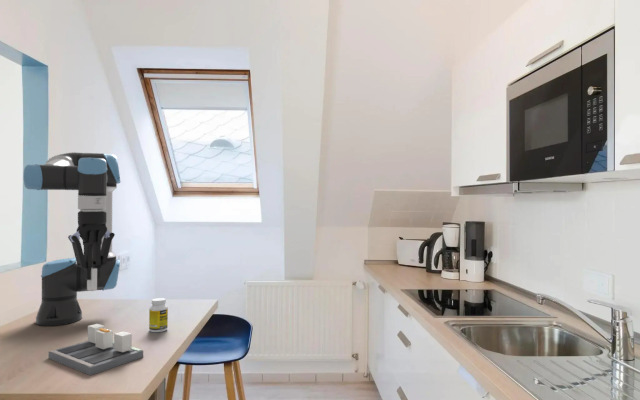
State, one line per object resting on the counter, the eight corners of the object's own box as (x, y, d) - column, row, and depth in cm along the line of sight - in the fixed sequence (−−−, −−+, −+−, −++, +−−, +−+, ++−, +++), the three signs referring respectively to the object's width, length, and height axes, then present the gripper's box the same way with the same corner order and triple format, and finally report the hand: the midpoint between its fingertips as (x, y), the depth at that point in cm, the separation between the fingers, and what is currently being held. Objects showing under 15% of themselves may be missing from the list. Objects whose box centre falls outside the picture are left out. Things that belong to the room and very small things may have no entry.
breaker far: (87, 341, 135) (87, 326, 135) (97, 338, 137) (97, 323, 137) (94, 343, 132) (94, 328, 132) (104, 340, 135) (104, 325, 135)
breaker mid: (95, 346, 129) (95, 329, 129) (105, 343, 132) (105, 327, 132) (103, 349, 127) (103, 332, 127) (112, 346, 130) (112, 329, 130)
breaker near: (114, 349, 127) (114, 333, 127) (123, 346, 130) (123, 331, 130) (122, 352, 125) (122, 336, 125) (131, 349, 127) (131, 333, 127)
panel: (48, 358, 127) (48, 351, 127) (100, 343, 140) (101, 336, 140) (90, 375, 115) (90, 367, 115) (143, 357, 128) (143, 349, 128)
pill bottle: (161, 333, 151) (161, 301, 151) (145, 332, 152) (145, 300, 152) (171, 328, 157) (171, 297, 157) (155, 327, 158) (155, 297, 158)
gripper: (76, 211, 120) (76, 296, 120) (120, 210, 131) (120, 287, 131) (62, 210, 124) (62, 292, 124) (106, 209, 135) (105, 284, 135)
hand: (92, 290), depth 128 cm, fingers closed
